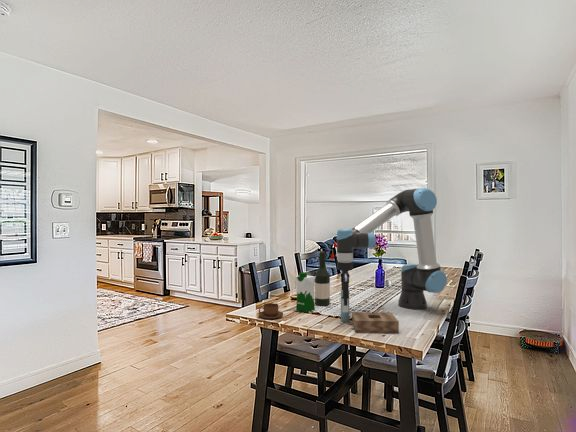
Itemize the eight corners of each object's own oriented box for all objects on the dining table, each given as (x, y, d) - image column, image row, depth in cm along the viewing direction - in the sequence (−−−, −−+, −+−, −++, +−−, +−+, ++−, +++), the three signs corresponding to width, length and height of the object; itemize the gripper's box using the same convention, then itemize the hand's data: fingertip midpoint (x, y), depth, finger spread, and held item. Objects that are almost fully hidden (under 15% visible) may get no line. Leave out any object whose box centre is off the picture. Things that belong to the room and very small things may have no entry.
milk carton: (293, 310, 194) (293, 272, 194) (304, 307, 201) (304, 270, 201) (306, 313, 188) (306, 274, 188) (317, 310, 195) (317, 272, 195)
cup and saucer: (267, 322, 173) (267, 309, 173) (254, 316, 183) (254, 304, 183) (288, 318, 180) (288, 305, 180) (274, 313, 190) (274, 301, 190)
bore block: (391, 323, 169) (391, 312, 170) (398, 333, 156) (398, 321, 156) (352, 323, 171) (352, 312, 171) (355, 332, 157) (355, 320, 157)
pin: (348, 319, 177) (348, 290, 177) (349, 321, 173) (349, 291, 173) (340, 319, 177) (340, 290, 177) (341, 321, 173) (341, 291, 173)
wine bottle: (329, 307, 202) (328, 252, 202) (313, 306, 203) (313, 251, 203) (330, 303, 210) (330, 250, 210) (315, 302, 211) (315, 250, 212)
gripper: (335, 259, 184) (335, 306, 184) (338, 263, 167) (338, 315, 167) (351, 259, 183) (351, 306, 183) (354, 263, 166) (354, 315, 166)
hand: (344, 310), depth 175 cm, fingers closed on pin, 4 cm apart
